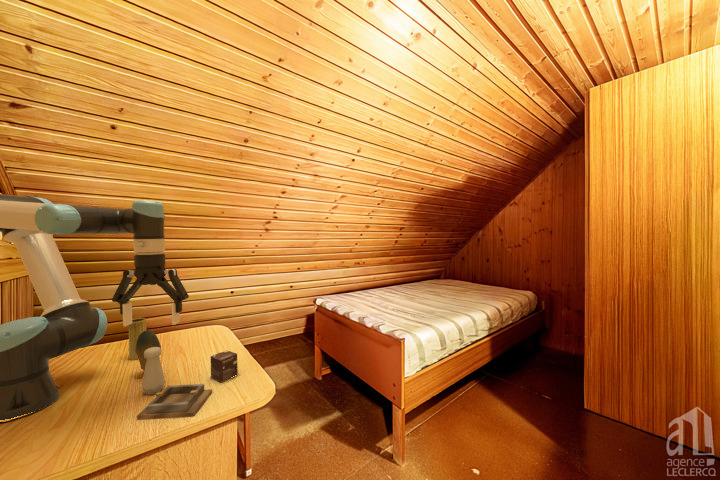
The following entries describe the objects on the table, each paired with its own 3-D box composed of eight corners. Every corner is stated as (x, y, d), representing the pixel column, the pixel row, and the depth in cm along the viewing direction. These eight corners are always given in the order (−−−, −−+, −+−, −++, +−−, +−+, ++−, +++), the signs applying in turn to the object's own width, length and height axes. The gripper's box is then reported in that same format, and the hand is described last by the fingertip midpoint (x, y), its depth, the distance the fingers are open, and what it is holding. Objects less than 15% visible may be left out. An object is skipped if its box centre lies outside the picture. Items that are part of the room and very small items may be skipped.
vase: (151, 355, 112) (150, 319, 112) (132, 361, 107) (131, 323, 107) (144, 351, 115) (143, 316, 115) (125, 357, 110) (124, 320, 110)
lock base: (137, 419, 74) (136, 405, 74) (162, 395, 85) (162, 383, 85) (194, 416, 75) (193, 402, 75) (212, 392, 86) (211, 380, 86)
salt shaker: (152, 397, 84) (151, 353, 83) (136, 395, 85) (135, 351, 84) (169, 386, 89) (168, 345, 89) (154, 385, 91) (153, 344, 90)
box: (221, 383, 91) (220, 360, 91) (210, 378, 95) (209, 356, 94) (238, 375, 97) (237, 353, 96) (227, 370, 100) (226, 349, 99)
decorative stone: (130, 375, 97) (129, 331, 96) (150, 367, 102) (148, 325, 102) (147, 381, 93) (146, 335, 92) (167, 373, 98) (166, 329, 98)
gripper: (94, 255, 81) (97, 329, 82) (187, 253, 83) (189, 326, 84) (114, 252, 88) (116, 321, 89) (199, 251, 91) (201, 318, 91)
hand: (152, 324), depth 86 cm, fingers open, 13 cm apart
